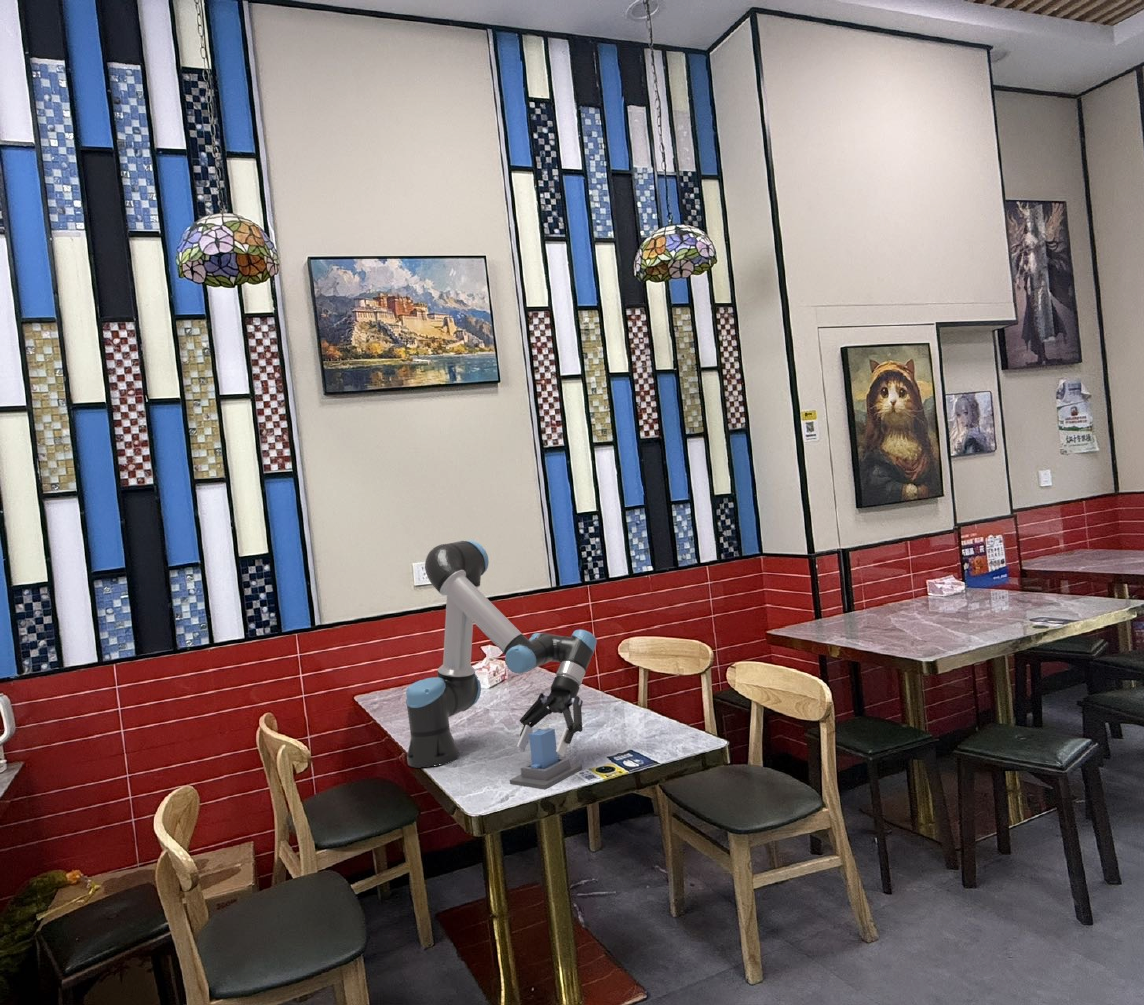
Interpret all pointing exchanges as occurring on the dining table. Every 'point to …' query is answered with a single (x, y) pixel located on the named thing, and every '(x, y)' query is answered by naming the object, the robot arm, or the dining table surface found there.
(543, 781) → the chassis
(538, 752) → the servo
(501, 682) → the dining table surface
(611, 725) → the dining table surface
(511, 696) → the dining table surface
